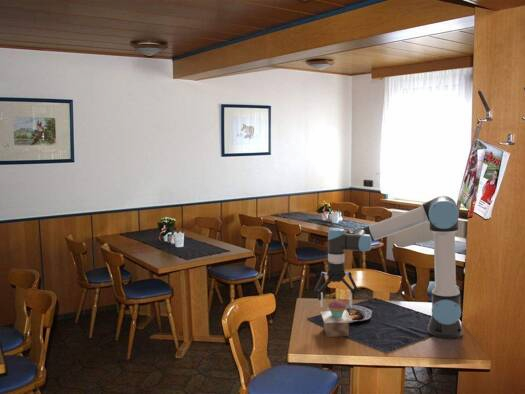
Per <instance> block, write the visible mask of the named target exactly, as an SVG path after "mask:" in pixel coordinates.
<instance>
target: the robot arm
mask: <svg viewBox="0 0 525 394" xmlns="http://www.w3.org/2000/svg"><path fill="white" fill-rule="evenodd" d="M459 216H460V211H459V208H458V206H457V202H456V201H455V200H454V199H453V198H452V197H449V196H447V195H446V196H445V195H440V196H437V197H435V198H433V199H431V200H429V201H426V202H423V203H421V205H420V206H419V207H417V208H413V209H411V210H408V211H405V212H402V213H400V214H397V215H395V216H391V217H388V218H387V219H384V220H381V221H378V222H376V223H375V222H374V223H373V224H370V225H367V226H363V227H358V228H357V229H356V230H355V231H354V233H346V232H345V229H344V228H339V227H333V228H330V229H329V230H328V232H327V233H328V234H327V261H328V262H327V272H324V271H321V273H320V277H319V279H318V281H317V283H316V285H315V286H314V289H313V290H314V293H317V299H318V300H319V301H320V302H319V303H320V308H321V309H322V308H324V304H323V303H324V294H323V292H324V290H325V289H326V288H327V287H328V285H330V284H331V283H332V282H333V283H336V282H337V283H340V282H342V283H343V284H344V285H345V286H346V287H347V288H348V290H349V293H348V294H349V296H348V298H349V299H348V305H350V307H352V305H353V300H355V293H356V292H359V288H358V286H357V285H356V282H355V281H354V279H353V277H352V272H351V271H350V270H348V271H345V251H354V252H356V251H357V252H358V251H359V252H369V251H371V249H372V242H374V241H377V240H380V239H383V238H386V237H388V236H392V235H395V234H398V233H400V232H403V231H407V230H409V229H412V228H414V227H417V226H420V225H423V224H426V223H427V224H429V231H430V232H431V233H432V234H433V255H434V256H433V257H434V258H433V259H434V261H433V262H434V263H433V264H434V284H432V289H431V316H430V319H429V321H428V323H427V324H428V325H427V332H428V334H430V335H431V336H434V337H436V338H439V339H448V340H452V339H459V338H460V337H462V336H463V328H462V326H461V325H462V324H461V321H460V318H461V316H462V308H461V292H460V287H459V286H458V285H457V275H456V274H457V273H456V272H457V271H456V269H457V267H456V233H457V232H458V231H459ZM326 277H328V278H327V279H326V281H324V279H325V278H326ZM344 277H348V279H349V280H350V282H351V285H352V286H353V287H352V286H351V285H350V284H349V283H348V281H346V279H345V278H344ZM323 281H324V283H323ZM322 283H323V284H322Z"/></svg>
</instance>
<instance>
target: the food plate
mask: <svg viewBox="0 0 525 394" xmlns="http://www.w3.org/2000/svg"><path fill="white" fill-rule="evenodd" d="M345 304H346V303H345ZM325 311H330V310H329V308H328V307H327V308H326V309H325ZM344 311H348V313H349V314H350V317H351V318H352V320H353V322H352V323H354V322H364V321H367V320H370V319H371V318H372V315H373V311H372V309H370V308H367V307H365V306H362V305H357V304H352V307H350V305H349V304H346V310H344ZM358 311H359V312H358ZM355 314H358V315H355Z"/></svg>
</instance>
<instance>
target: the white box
mask: <svg viewBox="0 0 525 394" xmlns="http://www.w3.org/2000/svg"><path fill="white" fill-rule="evenodd" d="M319 313H320V316H321V319H322V320H323V330H324V332H325V335H326V337H327V338H331V337H332V338H333V337H338V336H340V337H350V336H349V335H350V330H349V329H350V326H349V325H350V323H354V322H353V320H352V318H351V317H350V315H349V310H347V311H344V312H343V315H342V317H339V318H336V317H333V316H332V314H331V311H326V310H324V311H319Z"/></svg>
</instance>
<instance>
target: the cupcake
mask: <svg viewBox="0 0 525 394" xmlns="http://www.w3.org/2000/svg"><path fill="white" fill-rule="evenodd" d="M335 290H336V291H335V300H332V301H331V302H330V303H328V307H327V308H329V310H330V311H331V314H332V316H333V317H336V318H339V317H342V315H343V312H344V310H346V303H345V302H343V300H342V301H341V300H338V291H337V290H338V289H335Z"/></svg>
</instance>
